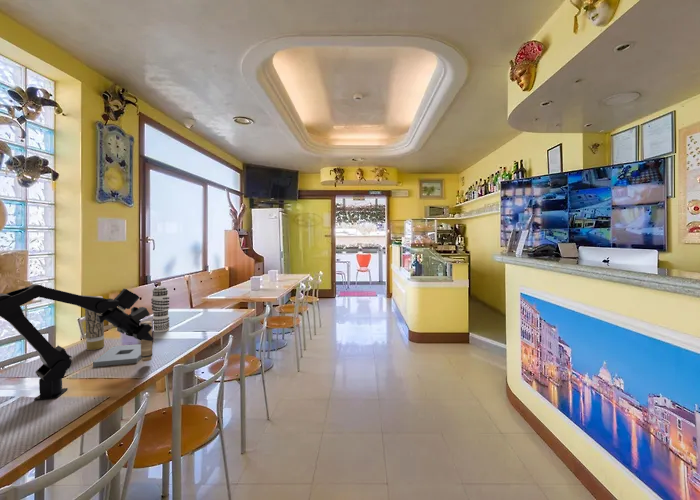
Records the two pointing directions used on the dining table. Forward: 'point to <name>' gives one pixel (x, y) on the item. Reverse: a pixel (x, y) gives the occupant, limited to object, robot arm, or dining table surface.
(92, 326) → the grey patterned cylinder
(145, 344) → the beech peg
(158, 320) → the decorative candle
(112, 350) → the grey peg hole board
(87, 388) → the dining table surface
